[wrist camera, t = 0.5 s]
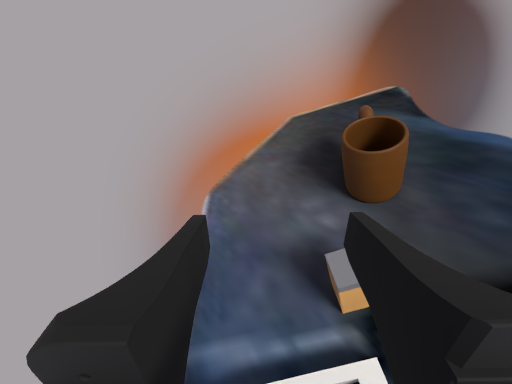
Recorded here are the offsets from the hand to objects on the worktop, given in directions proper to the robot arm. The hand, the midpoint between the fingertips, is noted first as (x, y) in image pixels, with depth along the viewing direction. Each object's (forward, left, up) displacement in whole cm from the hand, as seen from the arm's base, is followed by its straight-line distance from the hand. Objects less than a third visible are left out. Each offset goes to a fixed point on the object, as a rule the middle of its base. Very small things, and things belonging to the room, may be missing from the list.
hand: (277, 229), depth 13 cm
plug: (+3, -5, -20) cm, 21 cm away
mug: (+19, -14, -20) cm, 31 cm away
